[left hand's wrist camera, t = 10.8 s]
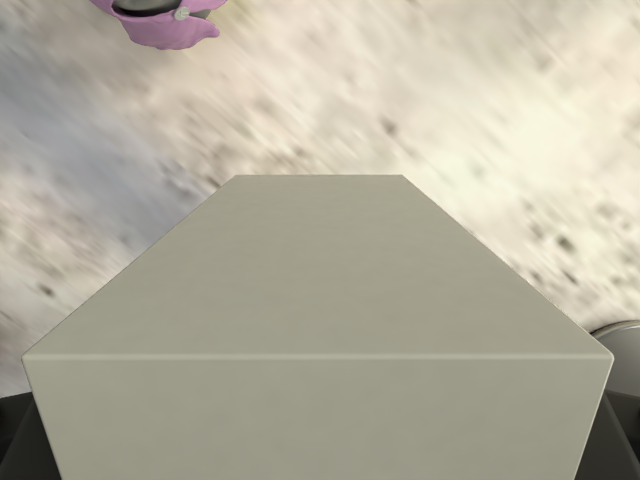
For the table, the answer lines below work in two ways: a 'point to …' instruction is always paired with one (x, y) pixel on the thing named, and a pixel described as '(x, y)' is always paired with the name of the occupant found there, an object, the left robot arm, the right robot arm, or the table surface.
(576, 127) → the table surface
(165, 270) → the box
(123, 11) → the toy character
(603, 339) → the left robot arm
